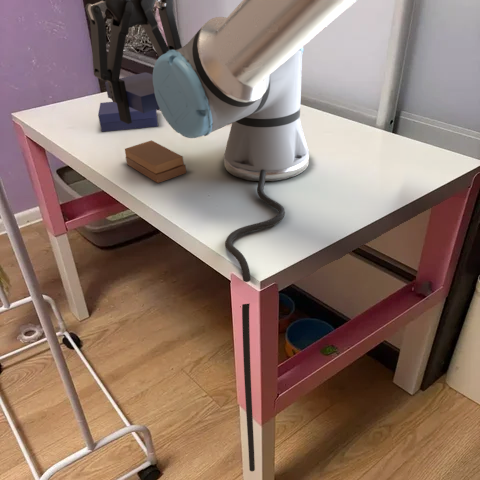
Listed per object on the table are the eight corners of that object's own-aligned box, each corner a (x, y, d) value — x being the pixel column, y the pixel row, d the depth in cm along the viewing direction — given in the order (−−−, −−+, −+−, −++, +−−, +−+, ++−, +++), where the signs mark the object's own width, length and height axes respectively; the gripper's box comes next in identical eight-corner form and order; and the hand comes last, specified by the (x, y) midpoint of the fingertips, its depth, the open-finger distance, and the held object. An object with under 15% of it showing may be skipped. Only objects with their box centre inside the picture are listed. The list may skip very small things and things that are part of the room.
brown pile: (186, 172, 91) (184, 156, 89) (157, 183, 89) (155, 166, 87) (154, 155, 98) (151, 139, 96) (126, 164, 95) (123, 148, 93)
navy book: (185, 101, 83) (184, 85, 82) (143, 113, 80) (140, 96, 78) (148, 87, 91) (145, 72, 89) (107, 97, 87) (104, 82, 86)
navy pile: (156, 114, 116) (154, 97, 114) (157, 126, 110) (155, 109, 108) (103, 119, 115) (100, 102, 113) (101, 131, 109) (98, 114, 107)
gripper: (169, -57, 79) (186, 96, 94) (41, -43, 70) (82, 125, 84) (197, -56, 75) (210, 105, 89) (64, -40, 65) (103, 137, 80)
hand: (148, 114), depth 87 cm, fingers closed on navy book, 8 cm apart
